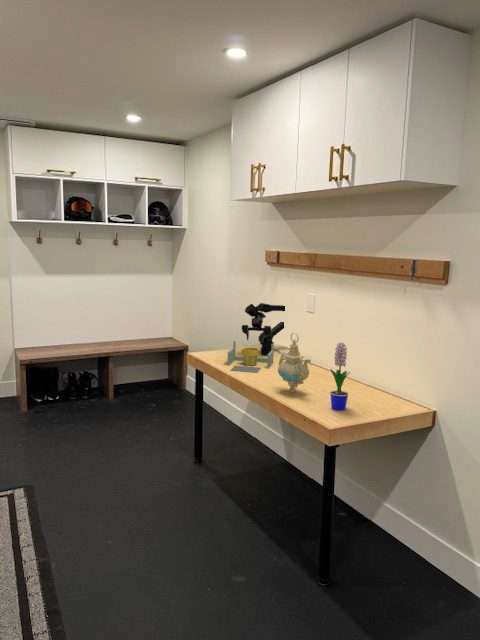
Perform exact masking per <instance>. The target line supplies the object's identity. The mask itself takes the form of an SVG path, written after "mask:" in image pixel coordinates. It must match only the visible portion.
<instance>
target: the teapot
mask: <svg viewBox="0 0 480 640" xmlns="http://www.w3.org/2000/svg"><path fill="white" fill-rule="evenodd" d="M294 334H295V335H296V337H297V340H296V339H292V338H293V337H292V336H293V335H294ZM290 341H291V342H292V343H290V345H289V347H290V348H288V350H289V351H287V353H286V354H285V352H284V351H283V350H282V349H279V350H278V351H277V354H278V355H279V354H280V358H279V361H278V367H277V373H278V375H279V376H280V377H281V378H282V381H284V382H287V384H288V386H289V387H290V388H289V390H290V392H291V393H295V392H296V389H297V388H298V385H299V386H301V385H303V384H304V383H305V382H304V381H305V380H307V379H308V377H309V375H310V370H309V365H308V364H310V363H312V361H311V358H307V359H305V360H303V359H304V358H305V357H304V356H303V355H301V352H299V351H300V349H299V343H298V342H299V334H298V333H296V332H292V333H291V335H290Z"/></svg>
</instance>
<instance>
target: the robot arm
mask: <svg viewBox="0 0 480 640" xmlns="http://www.w3.org/2000/svg"><path fill="white" fill-rule="evenodd" d="M284 311H285V306H283V305H282V304H281V305H279V304H278V305H277V304H267V303H264V302H260V303H259V304H258V305H256V306H255V305H254V304H253V303H250V304H248V306H246V307H245V309H244V313H246V314H247V315H249V316H250V317H251V326H249V325H247V324H242V325H241V332H242V333H243V334H245V335H246V336H245V337H246V340H247V341H249V337H250V331H256V332H261V333H260V334H259V336H258V339H257V340H258V342H259V344H260V345H261V346H260V354H261V356H267V355H268V354H269V353H270V351H271V345H272V344H274V345H275V342H274V341H273V339H274V337H275V336H276V335H277V334H279V333H280V332H281V331H282V330H284V329H285V328H284V322H281V321H280V322H279V323H277V324H276V325H275V326H273V327H271V325H264V327H263V322H264V319H265V318H266V317H267V316H266V315H265V313H266V314H267V313H271V312H284Z"/></svg>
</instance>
